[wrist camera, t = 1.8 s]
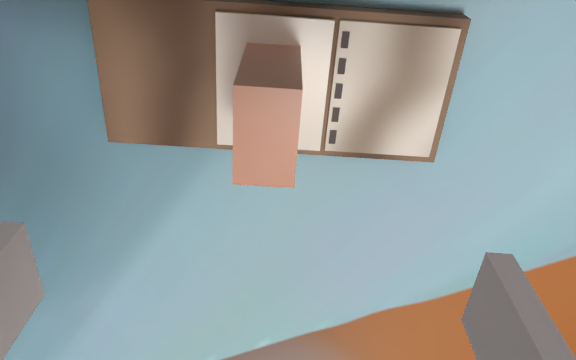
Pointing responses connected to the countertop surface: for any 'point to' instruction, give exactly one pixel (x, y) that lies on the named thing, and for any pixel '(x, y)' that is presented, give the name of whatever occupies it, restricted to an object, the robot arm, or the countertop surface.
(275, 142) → the stub
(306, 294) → the countertop surface
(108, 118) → the board
